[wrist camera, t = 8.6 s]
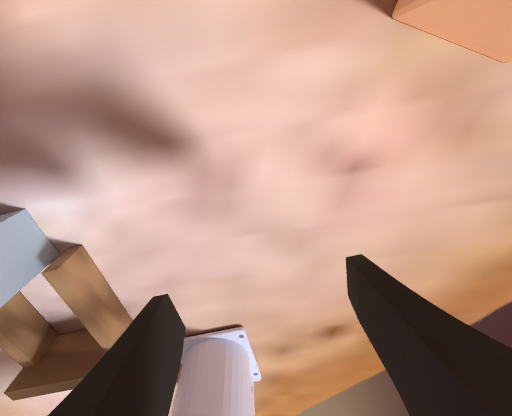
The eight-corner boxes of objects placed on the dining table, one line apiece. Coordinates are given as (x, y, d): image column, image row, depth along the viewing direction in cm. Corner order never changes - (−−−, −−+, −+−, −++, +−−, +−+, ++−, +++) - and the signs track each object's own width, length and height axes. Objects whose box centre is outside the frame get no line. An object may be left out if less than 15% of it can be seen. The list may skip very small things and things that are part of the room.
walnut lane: (137, 327, 24) (113, 381, 20) (54, 344, 25) (13, 400, 20) (82, 244, 20) (34, 290, 15) (-19, 267, 20) (-94, 317, 16)
